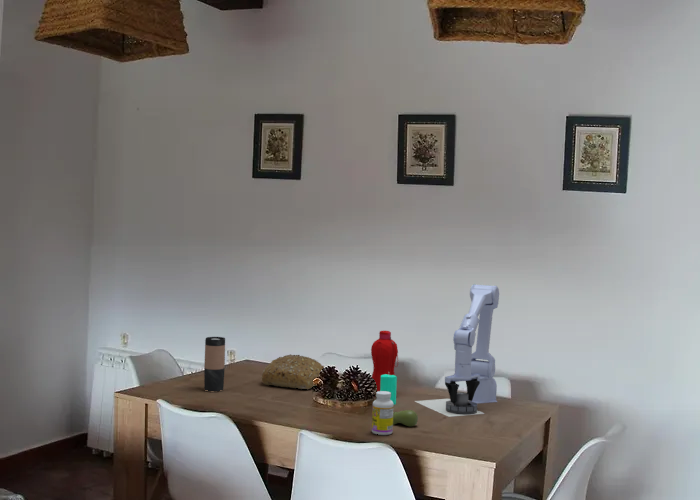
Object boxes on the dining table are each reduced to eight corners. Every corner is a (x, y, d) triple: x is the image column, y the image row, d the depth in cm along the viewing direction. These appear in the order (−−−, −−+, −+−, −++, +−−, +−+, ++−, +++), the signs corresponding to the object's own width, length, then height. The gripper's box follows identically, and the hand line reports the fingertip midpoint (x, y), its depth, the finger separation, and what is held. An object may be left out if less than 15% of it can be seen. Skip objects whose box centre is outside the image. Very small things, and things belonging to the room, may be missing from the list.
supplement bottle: (370, 429, 253) (371, 390, 253) (391, 430, 254) (392, 390, 254) (372, 435, 247) (374, 394, 246) (393, 435, 247) (395, 395, 247)
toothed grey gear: (465, 406, 289) (465, 399, 289) (483, 413, 279) (483, 405, 279) (439, 408, 285) (440, 401, 284) (456, 415, 275) (456, 408, 274)
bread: (255, 386, 313) (256, 356, 313) (280, 377, 333) (281, 348, 333) (311, 393, 304) (312, 362, 304) (333, 383, 324) (334, 354, 323)
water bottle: (389, 400, 296) (392, 333, 295) (365, 395, 302) (368, 330, 301) (403, 396, 303) (405, 331, 302) (379, 392, 310) (382, 328, 309)
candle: (394, 406, 286) (395, 373, 286) (378, 405, 287) (379, 372, 287) (397, 403, 292) (398, 370, 292) (381, 401, 293) (382, 369, 293)
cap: (461, 405, 286) (461, 391, 285) (471, 408, 282) (471, 393, 281) (450, 407, 283) (451, 392, 282) (460, 410, 279) (461, 395, 278)
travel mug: (228, 390, 304) (229, 338, 303) (214, 393, 298) (216, 340, 297) (213, 387, 308) (214, 336, 307) (199, 390, 302) (200, 338, 301)
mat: (448, 399, 301) (448, 398, 301) (485, 414, 279) (485, 413, 279) (414, 402, 294) (414, 401, 294) (448, 417, 273) (448, 416, 273)
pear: (412, 411, 257) (384, 412, 261) (414, 428, 256) (386, 428, 261) (419, 408, 261) (392, 409, 266) (421, 424, 261) (394, 424, 266)
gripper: (471, 360, 288) (469, 397, 289) (440, 362, 281) (438, 400, 281) (484, 363, 283) (482, 401, 283) (452, 366, 275) (451, 405, 275)
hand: (461, 401), depth 282 cm, fingers open, 7 cm apart
